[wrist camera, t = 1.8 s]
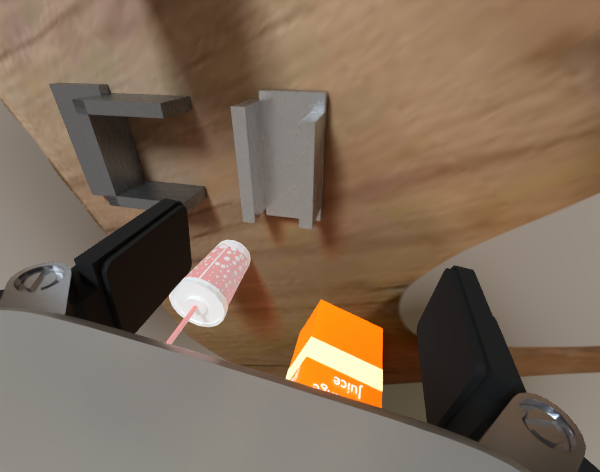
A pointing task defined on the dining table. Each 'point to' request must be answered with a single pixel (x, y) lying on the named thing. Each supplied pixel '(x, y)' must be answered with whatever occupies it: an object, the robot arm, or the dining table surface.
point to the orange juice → (340, 355)
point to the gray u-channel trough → (281, 154)
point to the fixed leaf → (118, 143)
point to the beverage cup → (210, 286)
